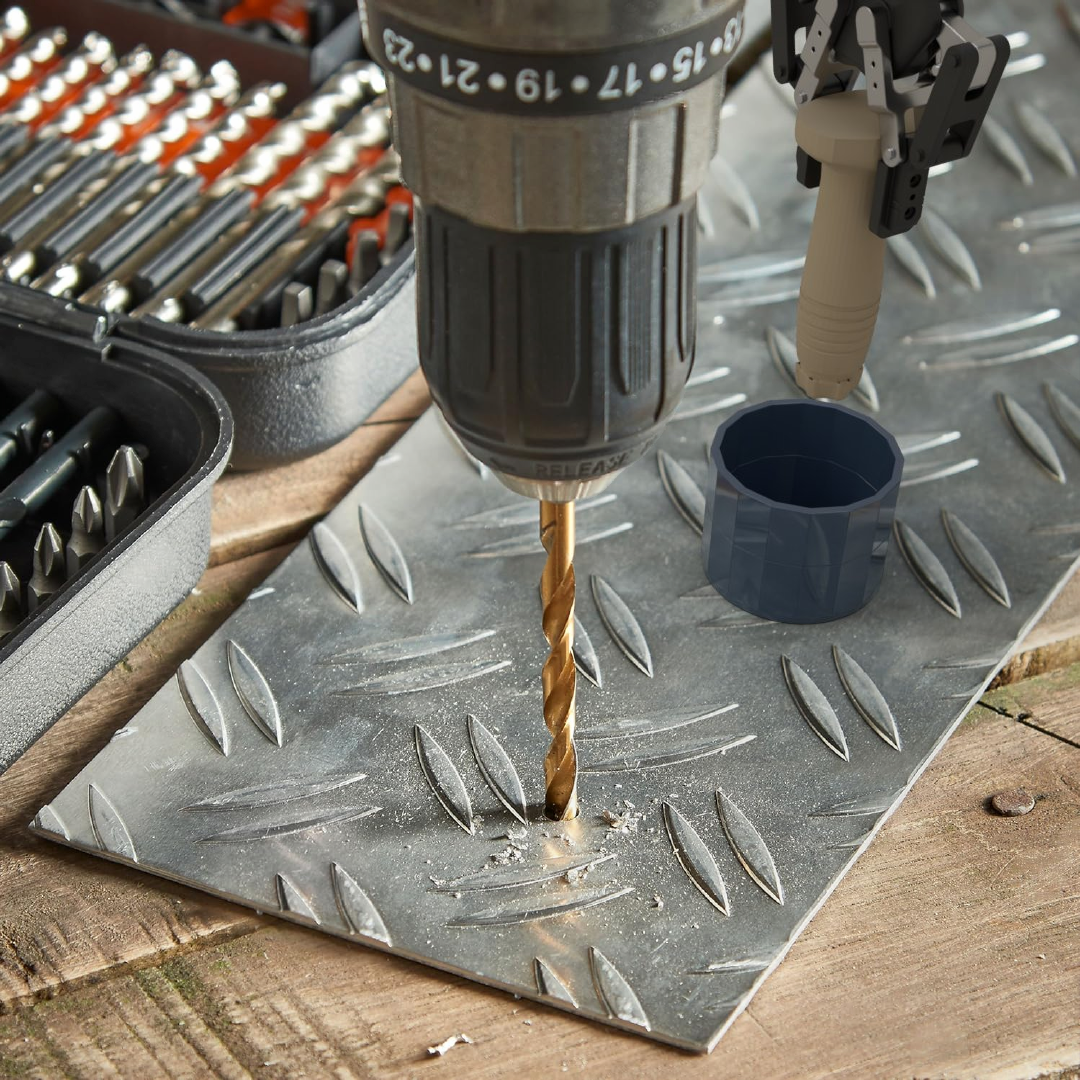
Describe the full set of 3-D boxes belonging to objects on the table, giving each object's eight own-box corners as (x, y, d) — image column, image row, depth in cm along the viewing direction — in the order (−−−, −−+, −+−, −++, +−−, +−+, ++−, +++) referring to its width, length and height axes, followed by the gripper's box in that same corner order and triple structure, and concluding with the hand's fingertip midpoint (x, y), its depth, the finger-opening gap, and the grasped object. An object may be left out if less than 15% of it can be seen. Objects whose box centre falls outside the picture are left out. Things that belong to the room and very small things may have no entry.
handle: (749, 375, 80) (778, 104, 70) (854, 349, 82) (896, 81, 72) (796, 426, 77) (833, 148, 67) (905, 397, 79) (956, 123, 69)
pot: (721, 493, 94) (732, 385, 89) (891, 524, 92) (913, 416, 87) (684, 603, 87) (694, 492, 82) (869, 640, 84) (891, 528, 79)
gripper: (1107, -141, 58) (1017, 254, 69) (871, -229, 68) (825, 131, 79) (953, -110, 56) (885, 296, 67) (730, -206, 65) (703, 163, 76)
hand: (853, 204), depth 73 cm, fingers closed on handle, 5 cm apart
